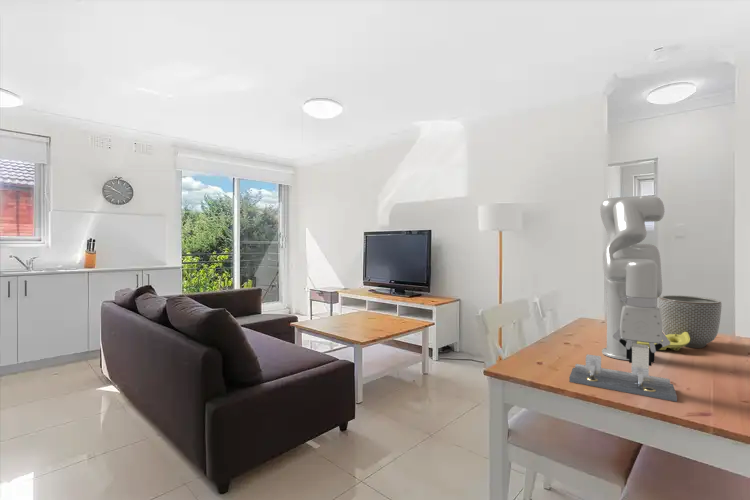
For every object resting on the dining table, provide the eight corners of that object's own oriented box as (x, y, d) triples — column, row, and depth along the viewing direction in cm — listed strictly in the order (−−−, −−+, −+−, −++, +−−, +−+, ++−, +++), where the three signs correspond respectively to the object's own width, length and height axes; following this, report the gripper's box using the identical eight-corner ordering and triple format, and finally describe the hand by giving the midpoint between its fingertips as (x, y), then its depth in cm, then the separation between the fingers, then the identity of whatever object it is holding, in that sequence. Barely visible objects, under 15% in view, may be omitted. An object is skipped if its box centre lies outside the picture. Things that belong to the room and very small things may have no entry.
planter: (714, 342, 156) (715, 297, 156) (726, 354, 140) (727, 304, 139) (655, 335, 167) (656, 293, 166) (660, 346, 150) (661, 300, 150)
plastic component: (629, 342, 149) (626, 327, 157) (629, 357, 152) (627, 340, 159) (692, 345, 139) (686, 329, 147) (692, 361, 142) (686, 343, 149)
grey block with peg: (632, 385, 107) (632, 350, 106) (631, 376, 113) (631, 343, 113) (649, 388, 105) (649, 352, 104) (647, 379, 111) (648, 345, 111)
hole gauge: (569, 381, 115) (569, 359, 115) (573, 371, 123) (573, 351, 123) (676, 401, 100) (677, 376, 100) (672, 389, 109) (673, 365, 109)
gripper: (607, 301, 112) (606, 361, 112) (678, 307, 102) (677, 372, 103) (608, 298, 118) (607, 355, 118) (675, 303, 108) (674, 364, 109)
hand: (640, 362), depth 111 cm, fingers closed on grey block with peg, 4 cm apart
